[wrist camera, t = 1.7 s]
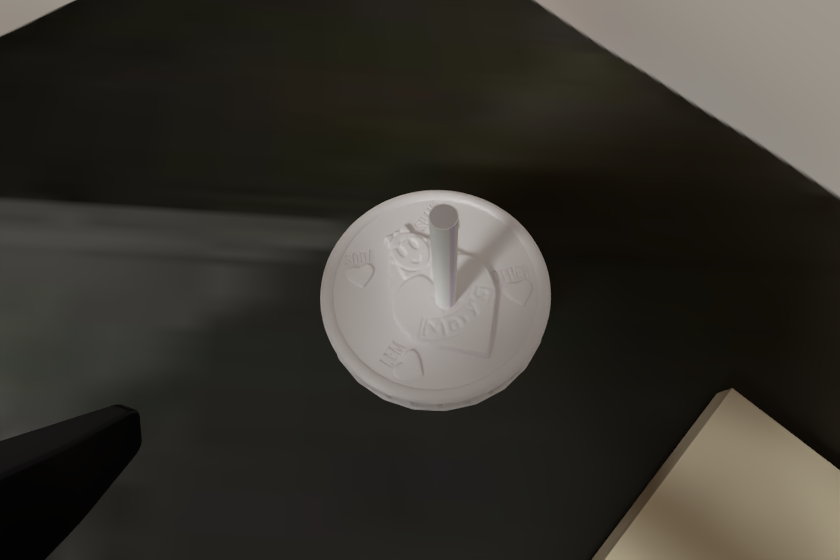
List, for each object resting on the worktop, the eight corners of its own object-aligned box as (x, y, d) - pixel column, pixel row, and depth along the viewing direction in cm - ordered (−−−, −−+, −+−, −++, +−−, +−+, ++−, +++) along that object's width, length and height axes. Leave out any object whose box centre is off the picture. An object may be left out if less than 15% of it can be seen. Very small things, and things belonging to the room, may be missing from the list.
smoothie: (421, 469, 20) (370, 450, 7) (346, 349, 22) (201, 165, 9) (539, 383, 21) (683, 228, 8) (456, 277, 23) (463, 24, 10)
